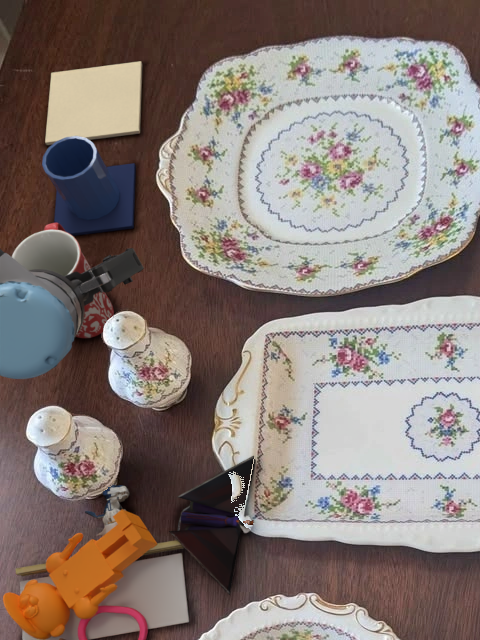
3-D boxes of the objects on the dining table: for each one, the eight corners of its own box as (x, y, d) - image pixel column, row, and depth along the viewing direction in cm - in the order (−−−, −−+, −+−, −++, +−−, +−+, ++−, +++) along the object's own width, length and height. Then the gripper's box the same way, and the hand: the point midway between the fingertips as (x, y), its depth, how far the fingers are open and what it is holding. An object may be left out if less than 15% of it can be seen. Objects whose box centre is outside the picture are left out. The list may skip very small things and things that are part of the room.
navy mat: (54, 238, 118) (52, 235, 117) (59, 175, 122) (57, 172, 122) (133, 228, 118) (132, 225, 117) (135, 165, 122) (134, 163, 122)
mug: (121, 339, 111) (79, 281, 98) (58, 349, 111) (8, 293, 98) (120, 265, 115) (80, 201, 103) (59, 275, 115) (11, 212, 103)
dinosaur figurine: (151, 547, 97) (137, 484, 103) (126, 535, 94) (113, 470, 99) (116, 568, 98) (104, 504, 104) (91, 557, 95) (79, 491, 100)
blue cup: (69, 225, 119) (40, 182, 110) (72, 184, 122) (44, 139, 113) (120, 218, 118) (95, 175, 110) (122, 178, 121) (97, 132, 113)
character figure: (187, 448, 101) (267, 455, 100) (193, 457, 103) (271, 463, 103) (155, 584, 94) (241, 592, 93) (162, 590, 96) (246, 598, 96)
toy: (175, 562, 95) (144, 551, 88) (57, 656, 95) (16, 653, 87) (136, 504, 98) (102, 488, 91) (21, 595, 98) (-23, 587, 90)
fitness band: (78, 653, 94) (73, 653, 93) (84, 603, 95) (79, 603, 94) (145, 657, 94) (141, 658, 93) (151, 608, 95) (147, 608, 94)
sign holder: (22, 570, 98) (26, 651, 96) (15, 568, 97) (18, 650, 94) (185, 541, 98) (193, 622, 96) (181, 539, 97) (189, 620, 94)
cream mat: (46, 145, 125) (44, 142, 124) (53, 75, 130) (51, 72, 130) (140, 133, 124) (138, 130, 124) (142, 64, 130) (141, 61, 129)
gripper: (-61, 406, 75) (-19, 366, 94) (179, 291, 78) (172, 275, 97) (-111, 334, 72) (-57, 308, 91) (139, 218, 75) (140, 216, 94)
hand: (61, 291), depth 94 cm, fingers open, 13 cm apart
